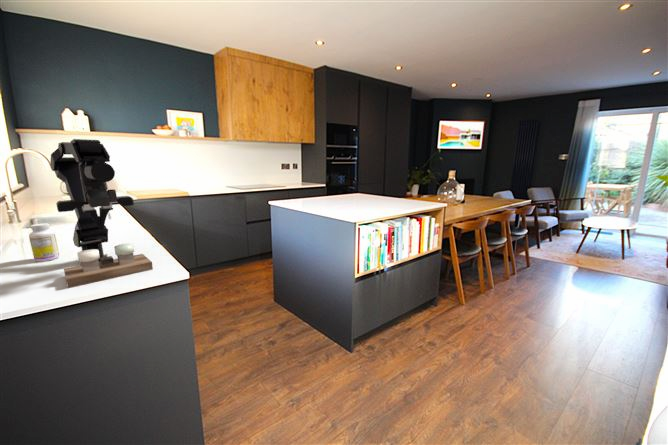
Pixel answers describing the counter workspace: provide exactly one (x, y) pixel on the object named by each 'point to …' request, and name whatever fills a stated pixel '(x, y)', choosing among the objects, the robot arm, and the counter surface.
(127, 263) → the knob mount
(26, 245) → the counter surface
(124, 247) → the knob sage
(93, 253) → the knob cream
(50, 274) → the counter surface
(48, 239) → the supplement bottle
